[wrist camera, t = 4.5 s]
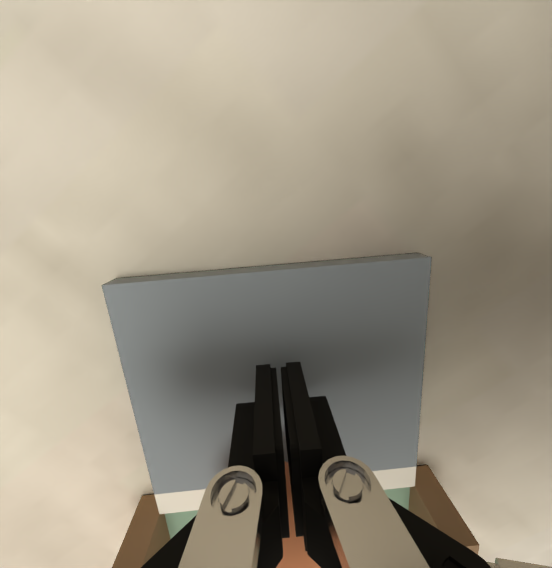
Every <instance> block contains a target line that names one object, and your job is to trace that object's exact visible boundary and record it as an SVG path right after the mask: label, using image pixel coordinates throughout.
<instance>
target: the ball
mask: <svg viewBox="0 0 552 568" xmlns="http://www.w3.org/2000/svg"><path fill="white" fill-rule="evenodd" d="M285 475H286V489H287V503H288V517H289V531H290V538H282V541H283V558H282V560H281V561H280V563H279V564H278V565H277V567H276V568H321V567H320V566H319V565H318V564H317V563H316V562H315V561H314V560H313V559H311V558H310V557H309V556H308V554H307V551H305V545H304V537H303V536H300V537H296V532H295V522H294V513H293V503H292V494H291V484H290V475H289V465H288V462H286V461H285Z"/></svg>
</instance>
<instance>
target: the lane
mask: <svg viewBox="0 0 552 568" xmlns="http://www.w3.org/2000/svg"><path fill="white" fill-rule="evenodd" d="M431 259H432V257H430V256H426V255H423V254H419V253H410V254H398V255H386V256H374V257H363V258H351V259H339V260H327V261H315V262H304V263H292V264H280V265H268V266H257V267H245V268H233V269H221V270H210V271H198V272H186V273H174V274H162V275H151V276H139V277H127V278H116V279H114V280H112V281H110V282H107V283H105V284H103V285H102V289H103V293H104V297H105V300H106V304H107V308H108V312H109V316H110V320H111V324H112V328H113V332H114V336H115V340H116V344H117V348H118V352H119V356H120V360H121V364H122V368H123V372H124V376H125V380H126V384H127V388H128V392H129V396H130V400H131V404H132V408H133V412H134V416H135V420H136V424H137V428H138V432H139V435H140V439H141V443H142V447H143V451H144V455H145V459H146V463H147V467H148V471H149V475H150V479H151V483H152V487H153V491H154V494H152V495H143V496H142V497H141V499H140V502H139V504H138V506H137V509H136V511H135V514H134V516H133V519H132V521H131V523H130V526H129V528H128V531H127V533H126V535H125V538H124V540H123V543H122V545H121V547H120V550H119V552H118V555H117V557H116V559H115V562H114V564H113V567H112V568H141V567H142V566H143V565H144V564H145V563H146V562H147V561H148V560H149V559H150V558H151V557H152V556H153V555H154V554H156V553H157V552H158V551H159V550H160V549H161V548H162V547H163V546H164V545H165V544H166V543H167V542H168V541H169V540H170V539H171V538H173V537H174V536H175V535H176V534H177V533H178V532H179V531H180V530H181V529H182V528H183V527H184V526H185V525H186V524H187V523H188V522H189V521H191V520H192V519H193V518H194V517H195V516H196V515H197V512H198V510H199V507H200V504H201V501H202V498H203V495H204V492H205V490H206V488H207V486H208V484H209V482H210V481H211V480H212V478H213V477H214V476H215V475H216V474H218V473H219V472H220V471H222V470H223V469H226V468H228V463H229V455H230V447H231V439H232V432H233V424H234V416H235V409H236V404H237V403H248V402H255V379H256V365H264V364H270V367H271V368H275V367H276V372H277V383H278V394H279V404H280V415H281V426H282V437H283V449H284V461H286V462H288V455H287V446H286V436H285V425H284V410H283V395H282V381H281V367H286V363H288V362H300V363H301V367H302V371H303V375H304V379H305V383H306V387H307V391H308V395H309V397H316V396H326V398H327V400H328V403H329V406H330V409H331V412H332V415H333V418H334V421H335V424H336V427H337V430H338V433H339V435H340V438H341V441H342V444H343V447H344V450H345V453H346V456H349V457H354V458H356V459H358V460H360V461H362V462H363V463H364V464H366V465H367V466H368V467H369V468H370V469H371V471H372V472H373V473H374V475H375V476H376V478H377V480H378V481H379V483H380V485H381V486H382V488H383V490H384V491H385V493H386V495H387V496H388V498H390V499H391V500H393V501H395V502H396V503H398V504H399V505H401V506H403V507H404V508H406V509H407V510H409V511H410V512H412V513H414V514H415V515H417V516H418V517H420V518H421V519H423V520H425V521H426V522H428V523H429V524H431V525H433V526H434V527H436V528H437V529H439V530H440V531H442V532H444V533H445V534H447V535H448V536H450V537H451V538H453V539H455V540H456V541H458V542H459V543H461V544H463V545H464V546H466V547H467V548H469V549H470V550H472V551H473V552H475V553H476V554H477V555H478V550H479V544H478V542H477V541H476V539H475V538H474V536H473V534H472V533H471V531H470V530H469V528H468V527H467V525H466V524H465V522H464V521H463V519H462V517H461V516H460V514H459V513H458V511H457V510H456V508H455V507H454V505H453V503H452V502H451V500H450V499H449V497H448V496H447V494H446V493H445V491H444V490H443V488H442V486H441V485H440V483H439V482H438V480H437V479H436V477H435V476H434V474H433V473H432V471H431V469H430V468H429V466H428V465H423V466H416V464H417V451H418V437H419V423H420V410H421V396H422V382H423V369H424V355H425V341H426V327H427V314H428V300H429V286H430V273H431Z"/></svg>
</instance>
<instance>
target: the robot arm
mask: <svg viewBox="0 0 552 568" xmlns="http://www.w3.org/2000/svg"><path fill="white" fill-rule="evenodd" d="M281 381H282V395H283V410H284V425H285V436H286V446H287V455H288V465H289V475H290V484H291V494H292V503H293V513H294V522H295V532H296V537H300V536H303V537H304V545H305V551H307V554H308V556H309V557H310V558H311V559H313V560H314V561H315V562H316V563H317V564H318V565H319V566H320V567H321V568H552V567H549V566H543V565H537V564H531V563H525V562H519V561H513V560H507V559H501V558H496V560H495V563H491V562H486V561H485V560H484V559H482V558H481V557H480V556H479V555H477V554H476V553H475V552H473V551H472V550H470V549H469V548H467V547H466V546H464V545H463V544H461V543H459V542H458V541H456V540H455V539H453V538H451V537H450V536H448V535H447V534H445V533H444V532H442V531H440V530H439V529H437V528H436V527H434V526H433V525H431V524H429V523H428V522H426V521H425V520H423V519H421V518H420V517H418V516H417V515H415V514H414V513H412V512H410V511H409V510H407V509H406V508H404V507H403V506H401V505H399V504H398V503H396V502H395V501H393V500H391V499H390V498H388V496H387V495H386V493H385V491H384V490H383V488H382V486H381V485H380V483H379V481H378V480H377V478H376V476H375V475H374V473H373V472H372V471H371V469H370V468H369V467H368V466H367V465H366V464H364V463H363V462H362V461H360V460H358V459H356V458H354V457H349V456H346V453H345V450H344V447H343V444H342V441H341V438H340V435H339V433H338V430H337V427H336V424H335V421H334V418H333V415H332V412H331V409H330V406H329V403H328V400H327V398H326V396H316V397H309V395H308V391H307V387H306V383H305V379H304V375H303V371H302V367H301V363H300V362H288V363H286V367H281ZM282 538H290V531H289V517H288V503H287V489H286V475H285V461H284V449H283V437H282V426H281V415H280V404H279V394H278V383H277V372H276V367H275V368H271V367H270V364H264V365H256V379H255V402H248V403H237V404H236V409H235V416H234V424H233V432H232V439H231V447H230V455H229V463H228V468H226V469H223V470H222V471H220V472H219V473H218V474H216V475H215V476H214V477H213V478H212V480H211V481H210V482H209V484H208V486H207V488H206V490H205V492H204V495H203V498H202V501H201V504H200V507H199V510H198V512H197V515H196V516H195V517H194V518H193V519H192V520H191V521H189V522H188V523H187V524H186V525H185V526H184V527H183V528H182V529H181V530H180V531H179V532H178V533H177V534H176V535H175V536H174V537H173V538H171V539H170V540H169V541H168V542H167V543H166V544H165V545H164V546H163V547H162V548H161V549H160V550H159V551H158V552H157V553H156V554H154V555H153V556H152V557H151V558H150V559H149V560H148V561H147V562H146V563H145V564H144V565H143V566H142V567H141V568H276V567H277V565H278V564H279V563H280V561H281V560H282V558H283V541H282Z"/></svg>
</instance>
